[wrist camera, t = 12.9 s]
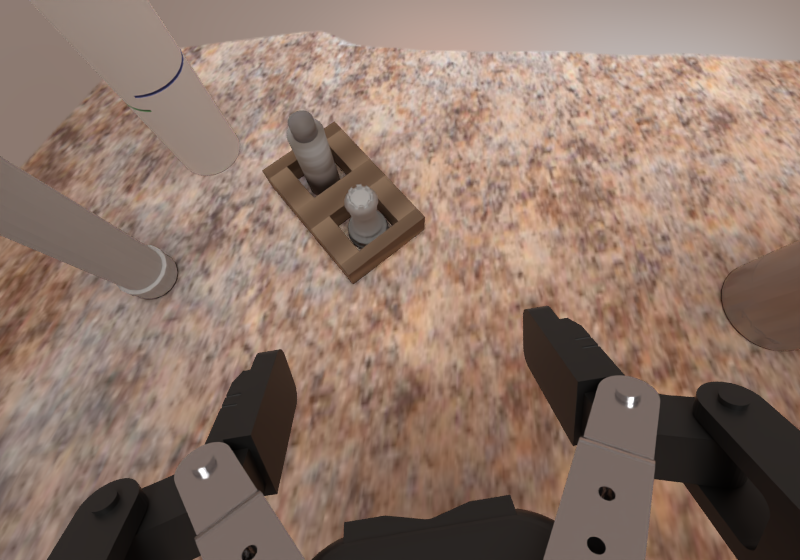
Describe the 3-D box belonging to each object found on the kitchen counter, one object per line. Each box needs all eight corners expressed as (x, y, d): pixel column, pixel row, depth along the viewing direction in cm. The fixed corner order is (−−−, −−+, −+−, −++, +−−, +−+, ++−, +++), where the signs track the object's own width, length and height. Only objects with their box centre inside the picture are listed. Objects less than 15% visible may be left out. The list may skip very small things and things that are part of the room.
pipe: (122, 295, 43) (-437, 77, 15) (145, 243, 45) (-313, -39, 17) (168, 305, 43) (-320, 98, 14) (190, 252, 45) (-206, -24, 16)
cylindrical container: (242, 169, 48) (71, -69, 24) (183, 180, 48) (-48, -47, 24) (237, 121, 50) (77, -139, 26) (181, 132, 50) (-32, -120, 26)
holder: (271, 185, 47) (232, 123, 37) (339, 138, 49) (319, 67, 39) (353, 284, 43) (333, 245, 33) (424, 229, 45) (426, 176, 34)
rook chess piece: (351, 213, 46) (339, 173, 38) (390, 215, 45) (385, 176, 38) (347, 249, 44) (332, 216, 37) (387, 251, 44) (381, 218, 36)
